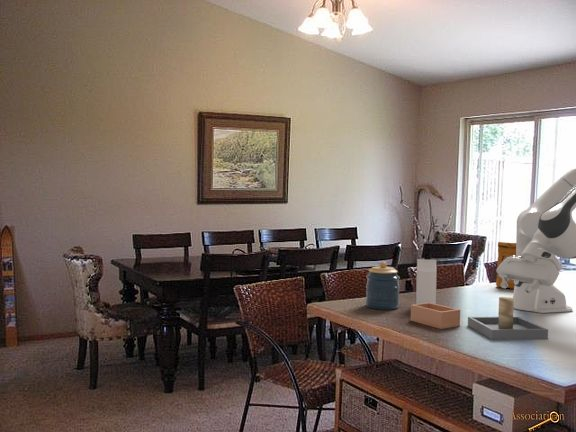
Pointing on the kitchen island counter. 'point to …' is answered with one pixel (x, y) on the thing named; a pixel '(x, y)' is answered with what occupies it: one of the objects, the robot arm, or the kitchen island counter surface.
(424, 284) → the milk carton
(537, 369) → the kitchen island counter surface
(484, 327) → the charcoal tray
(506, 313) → the birch peg
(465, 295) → the kitchen island counter surface
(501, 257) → the coffee package
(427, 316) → the terracotta planter box
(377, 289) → the canister
